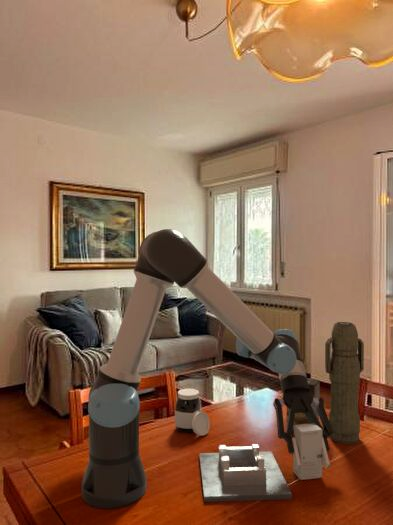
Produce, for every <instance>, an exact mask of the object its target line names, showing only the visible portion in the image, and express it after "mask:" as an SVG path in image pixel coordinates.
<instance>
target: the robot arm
mask: <svg viewBox="0 0 393 525" xmlns="http://www.w3.org/2000/svg"><path fill="white" fill-rule="evenodd" d="M138 251H139V252H138V258H137V261H136V263H135V267H134V269H133V273H134V276H135V279H136V280H135V283H134V286H133V289H132V291H131V294H130V297H129V300H128V302H127V305H126V309H125V312H124V315H123V316H122V317H123V318H122V320H121V323H120V327H119V329H118V332H117V335H116V338H115V341H114V343H113V345H112V346H113V347H112V348H111V352H110V355H109V357H108V360H107V362H106V363H103V365H100V367H99V370H98V373H97V375H96V377H95V378H96V379H95V380H94V382H93V383H92V384H91V387H90V389H89V391H88V403H87V412H88V462H87V465H86V469H85V471H84V474H83V477H82V481H81V487H80V488H81V489H80V490H81V498H82V500H83V501H84V502H85V503H86V504H88V505H90V506H92V507H95V508H100V509H117V508H120V507H125V506H128V505H131V504H133V503H135V502H136V501H138V500H139V499H140V498H141V497H143V496H144V494H145V493H146V491H147V474H146V471H145V469H144V466H143V463H142V460H141V457H140V456H141V455H140V434H139V433H140V408H141V407H140V406H141V405H140V403H141V402H140V398H139V393H138V390H139V387H140V384H141V381H142V378H141V376H140V374H139V370H140V367H141V363H142V361H143V359H144V358H143V357H144V355H145V353H146V349H147V346H148V343H149V341H150V337H151V334H152V333H153V329H154V326H155V324H156V323H155V322H156V321H157V320H156V319H157V317H158V314H159V311H160V307H161V306H162V303H163V299H164V297H165V294H166V291H167V289H169V288H170V287H173V286H174V285H175V284H176V285H177V286H178V287H179V288H181V289H187V290H188V291H189V292H190V293H191V294H192V295H193V296H194V297H195V298H196V299H197V300H198V301H199V302H200V303H201V304H202V305H203V306H204V307H205V308H206V309H207V310H208V311H210V312H211V313H212V315H214V317H215V318H216V319H218V321H219V322H221V323H222V324H223V325H224V326H225V327H226V329H228V330H229V331H230V332H231V333H232V334H233V335H234V336H235V337H236V340H235V351H236V353H237V355H238V356H240V357H242V358H246V359H247V358H249V359H253V360H255V361H256V362H258V363H260V364H261V365H263V366H265V367H266V368H268V369H269V370H270V371H271V372H273V373H277V374H278V377H279V378H278V379H279V381H280V387H281V394H282V398H274V400H273V404H272V405H273V407H274V409H275V414H276V415H275V416H276V426H277V437H278V438H279V439H280V440H281V439H283V440H284V442H286V447H287V451H288V454H292V458H293V459H292V460H293V462H294V463H293V464H295V469H299V467H300V466H301V463H300V458H299V453H298V448H297V443H296V439H295V438H294V437H293V433H294V431H293V424H294V417H295V413H299V412H300V413H304V414H305V415H306V417H308V419H309V421H310V422H311V424H316V425H317V426H318V427H320V428H321V429H322V467H323V469H327V468H328V467H329V466H330V465H331V464H330V459H329V455H328V453H329V452H330V445H329V441H328V439H329V438H330V436H331V435H332V434H333V431H332V428H331V425H330V422H329V416H328V413H327V411H326V408H325V402H324V401H325V400H324V398H323V397H319V399H317V398H313V396H312V395H311V393H310V389H309V385H308V381H307V378H308V377H307V374H306V369H305V366H304V362H303V359H302V358H303V357H302V353H301V349H300V344H299V341H298V338H297V335H296V333H295V332H294V331H293V330H291V329H289V328H284V329H282V328H281V329H277V330H276V331H274V332H273V331H272V330H270V329H271V328H269V327H268V326H267V325H266V324H265V323H264V322H263V321H262V320H261V318H259V317H258V316H257V315H256V314H255V313H254V312H253V311H252V310H251V309H250V308H249V307H248V306H247V305H246V304H245V302H243V301H242V299H241V298H239V297H238V295H237V294H235V293H234V292H233V291H232V289H230V288H229V287H228V285H227V284H226V283H224V281H222V279H221V278H220V277H219V276H217V274H216V273H215V272H214V271H213V270H212V269H211V268H210V267H209V264H208V263H209V260H208V259H207V258H206V257H205V256H204V255H203V254H202V253H201V252H200V251H199V250H198V248H197V247H195V245H194V244H193V243H192V242H191V241H190V240H189V239H188V237H187V236H185V235H184V234H183V233H181V232H180V231H178V230H176V229H170V228H165V229H161V230H158V231H154V232H152V233H150V234H148V235H146V237H145V238H144V239H143V240H142V241H141V243H140V246H139V248H138ZM312 402H313V403H314V404H315V407H317V411H318V414H319V420H318V419H317V417H316V415H315V414H314V412H313V409H312V407H311V404H312ZM283 405H284V406H286V408H287V407H288V408H289V415H288V416H289V417H288V424H287V423H286V425H287V429H286V432H285V427H284V426H285V423H284V415H283Z"/></svg>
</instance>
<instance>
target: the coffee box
mask: <svg viewBox="0 0 393 525" xmlns="http://www.w3.org/2000/svg"><path fill="white" fill-rule="evenodd" d="M306 378H307V381H308V385H309V389H310V393H311V395H312V396H313V398H317V399H319V398H320V390H321V389H320V380H319V379H315V378H310V377H309V378H308V377H306ZM311 407H312V409H313V412H314V414H315V415H316V417H317V419H318V420H319V421H320V417H319V414H318V411H317V407H315V404H314V403H313V402H312V404H311ZM288 415H289V408H288V407H287V406H286V428H285V429H286V430H287V424H288V417H289V416H288ZM301 424H311V422H310V421H309V419H308V417H306V415H305V414H304V413H300V412H299V413H295V417H294V424H293V432H294V425H301Z"/></svg>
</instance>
